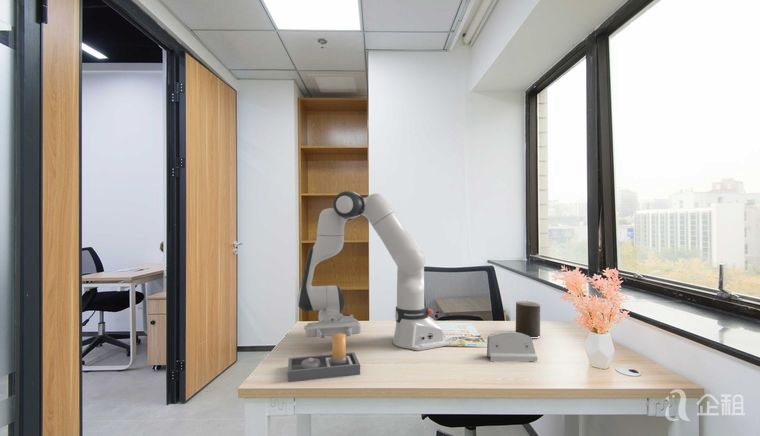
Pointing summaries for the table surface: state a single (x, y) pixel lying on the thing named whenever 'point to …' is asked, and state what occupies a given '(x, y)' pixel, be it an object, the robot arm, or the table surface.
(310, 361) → the dark grey sorting tray
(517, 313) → the pillar candle
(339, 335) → the wooden handle stamp
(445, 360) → the table surface
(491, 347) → the hinge
